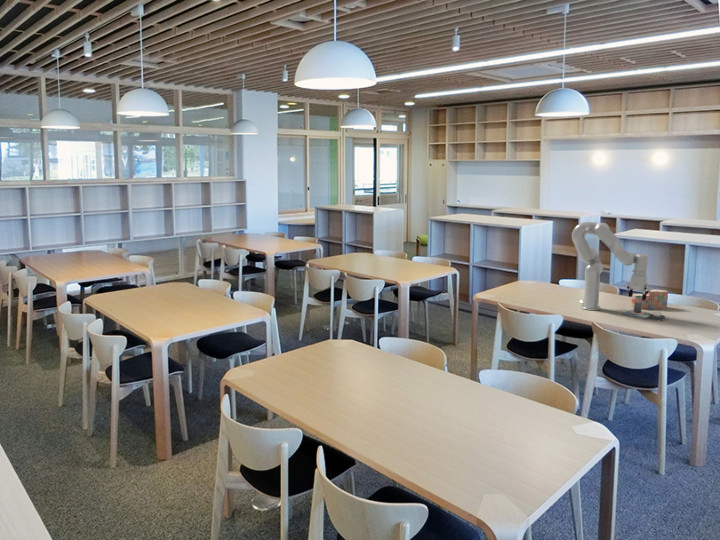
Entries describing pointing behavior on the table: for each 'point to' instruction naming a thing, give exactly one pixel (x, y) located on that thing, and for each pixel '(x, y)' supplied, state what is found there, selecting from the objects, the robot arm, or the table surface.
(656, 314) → the button
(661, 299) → the stack of blocks
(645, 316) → the picture board
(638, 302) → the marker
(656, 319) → the button housing
